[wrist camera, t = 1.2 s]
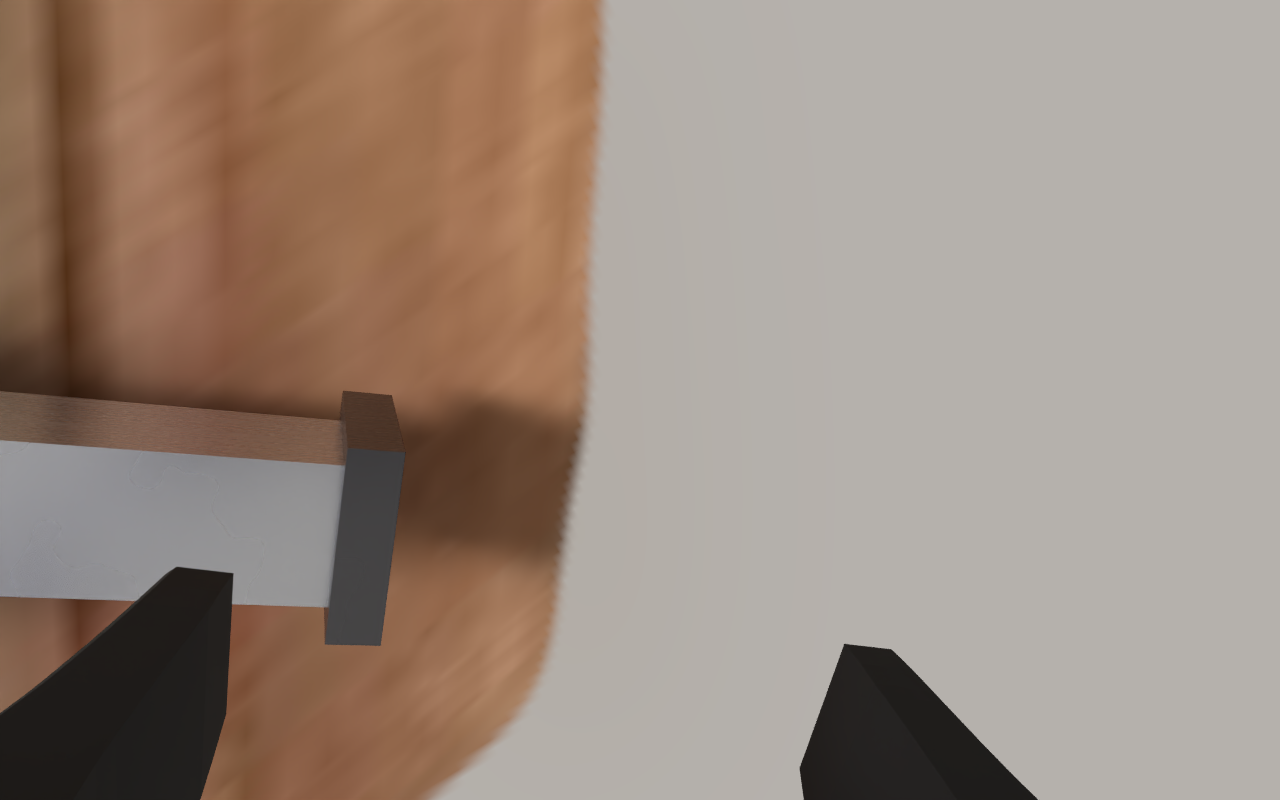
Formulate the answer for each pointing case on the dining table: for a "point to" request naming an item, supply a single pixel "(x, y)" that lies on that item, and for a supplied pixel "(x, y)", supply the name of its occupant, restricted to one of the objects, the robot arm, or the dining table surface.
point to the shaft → (202, 503)
